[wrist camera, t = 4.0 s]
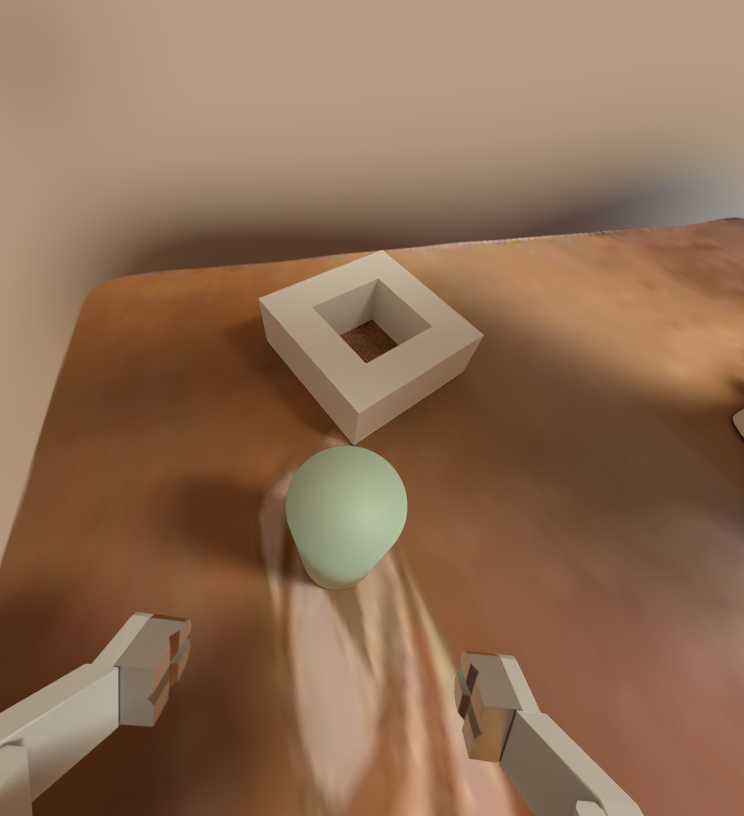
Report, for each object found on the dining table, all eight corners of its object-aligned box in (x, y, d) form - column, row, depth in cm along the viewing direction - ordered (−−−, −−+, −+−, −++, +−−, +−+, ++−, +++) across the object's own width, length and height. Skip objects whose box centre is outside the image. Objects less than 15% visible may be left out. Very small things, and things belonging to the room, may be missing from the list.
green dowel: (345, 499, 22) (358, 426, 14) (388, 556, 21) (431, 512, 13) (287, 543, 21) (261, 488, 12) (329, 608, 19) (334, 598, 11)
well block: (375, 291, 34) (382, 250, 30) (463, 371, 30) (483, 334, 26) (267, 341, 29) (258, 298, 25) (353, 445, 25) (358, 413, 21)
